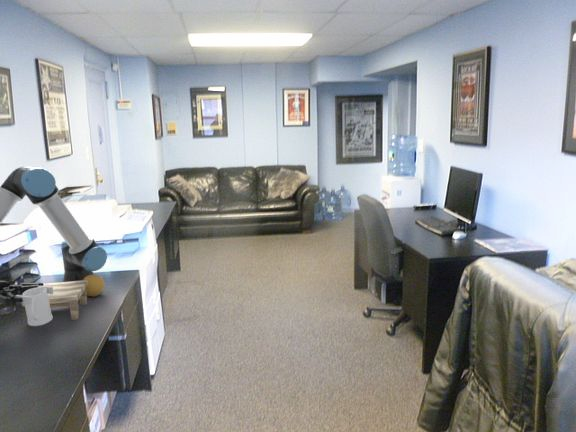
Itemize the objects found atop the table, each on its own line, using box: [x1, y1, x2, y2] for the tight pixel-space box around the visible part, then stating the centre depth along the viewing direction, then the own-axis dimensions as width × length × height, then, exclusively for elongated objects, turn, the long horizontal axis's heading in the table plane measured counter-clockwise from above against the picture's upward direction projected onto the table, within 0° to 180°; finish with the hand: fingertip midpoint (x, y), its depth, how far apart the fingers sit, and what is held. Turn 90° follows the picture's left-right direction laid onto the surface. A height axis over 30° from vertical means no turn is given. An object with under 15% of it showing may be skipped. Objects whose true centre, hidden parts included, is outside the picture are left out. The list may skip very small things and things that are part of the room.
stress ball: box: [83, 273, 106, 298], centre depth 210 cm, size 10×10×10 cm
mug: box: [21, 287, 54, 327], centre depth 172 cm, size 12×8×12 cm
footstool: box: [21, 280, 88, 321], centre depth 192 cm, size 20×20×10 cm
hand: (41, 295), depth 171 cm, fingers closed on mug, 9 cm apart
